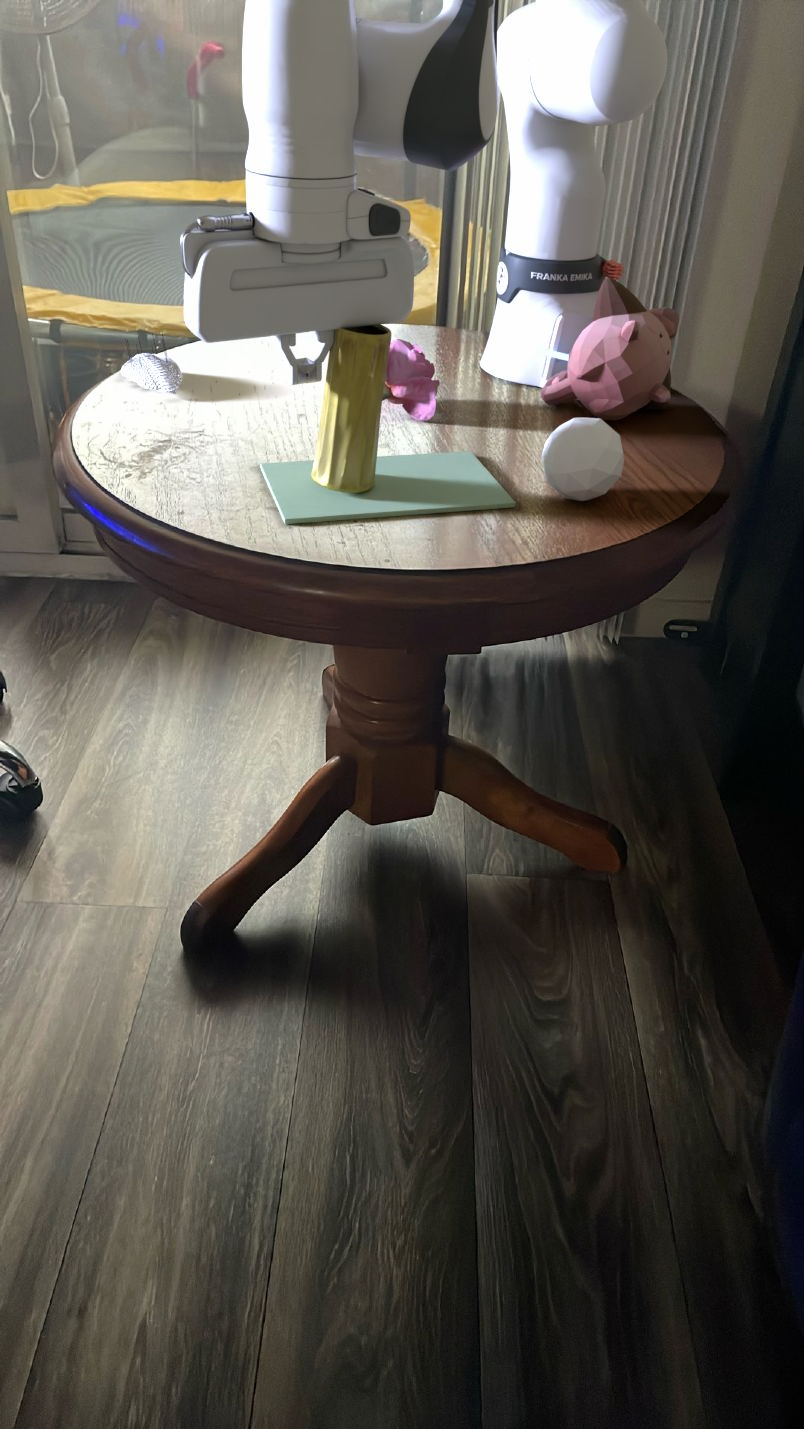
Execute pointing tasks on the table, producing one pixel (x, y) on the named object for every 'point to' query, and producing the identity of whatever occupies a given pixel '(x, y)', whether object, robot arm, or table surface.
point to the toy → (618, 358)
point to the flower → (410, 380)
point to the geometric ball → (583, 458)
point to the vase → (352, 409)
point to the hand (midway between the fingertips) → (302, 381)
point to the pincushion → (153, 371)
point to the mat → (388, 489)
